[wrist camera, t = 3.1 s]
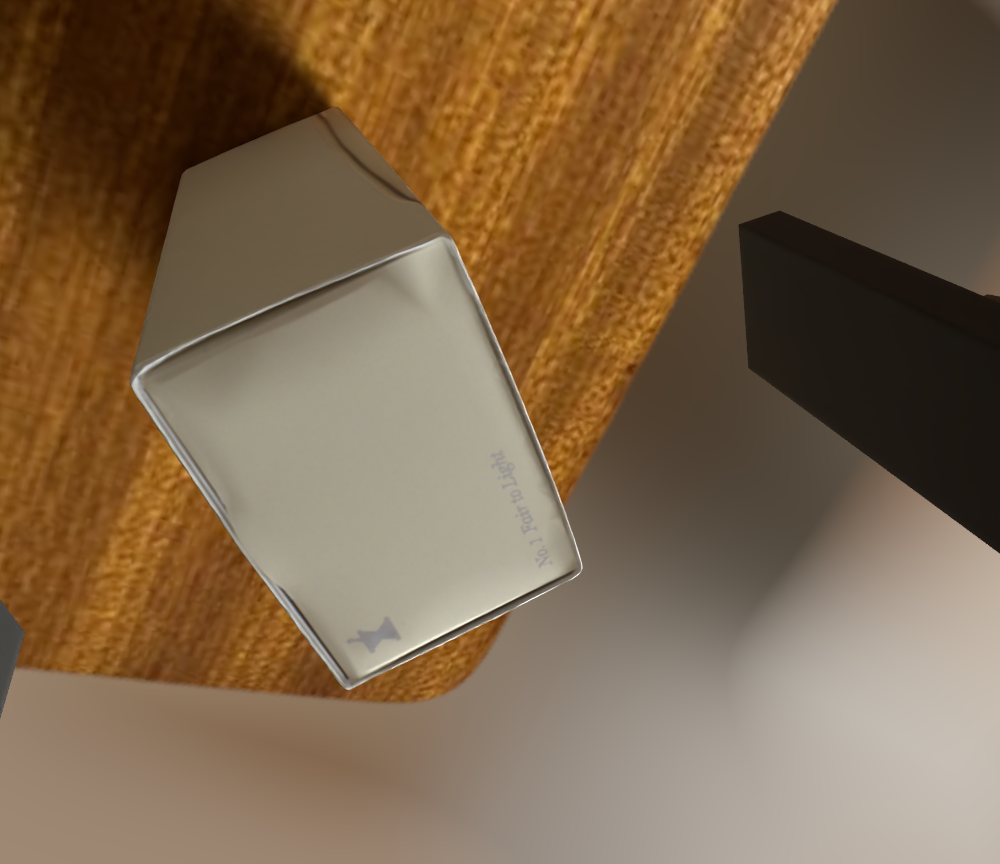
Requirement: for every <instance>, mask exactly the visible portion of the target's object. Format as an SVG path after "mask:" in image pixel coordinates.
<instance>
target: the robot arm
mask: <svg viewBox="0 0 1000 864" xmlns="http://www.w3.org/2000/svg"><path fill="white" fill-rule="evenodd" d="M739 237H740V252H741V265H742V266H741V267H742V280H743V295H744V310H745V324H746V339H747V352H748V367H749V369H751V370H752V371H753V372H755V373H756V374H757V375H759V376H760V377H761V378H763V379H764V380H766V381H767V382H768V383H770V384H771V385H772V386H774V387H775V388H777V389H778V390H779V391H780V392H782V393H783V394H785V395H786V396H787V397H789V398H790V399H791V400H793V401H794V402H796V403H797V404H798V405H799V406H801V407H802V408H803V409H805V410H806V411H808V412H809V413H810V414H812V415H813V416H814V417H816V418H817V419H818V420H820V421H821V422H822V423H824V424H825V425H826V426H828V427H829V428H831V429H832V430H833V431H835V432H836V433H837V434H839V435H840V436H841V437H843V438H844V439H845V440H847V441H848V442H850V443H851V444H852V445H854V446H855V447H856V448H858V449H859V450H860V451H862V452H863V453H865V454H866V455H867V456H869V457H870V458H871V459H873V460H874V461H876V462H877V463H878V464H879V465H881V466H882V467H883V468H885V469H887V471H889V472H890V473H891V474H893V475H894V476H896V477H897V478H898V479H900V480H901V481H902V482H904V483H905V484H907V485H908V486H909V487H910V488H912V489H913V490H915V491H916V492H917V493H919V494H920V495H921V496H923V497H924V498H925V499H927V500H928V501H930V502H931V503H932V504H934V505H935V506H936V507H938V508H939V509H940V510H942V511H943V512H944V513H946V514H947V515H948V516H950V517H951V518H952V519H954V520H955V521H957V522H958V523H959V524H961V525H962V526H963V527H965V528H966V529H967V530H969V531H970V532H972V533H973V534H974V535H976V536H977V537H978V538H980V539H981V540H982V541H984V542H985V543H986V544H988V545H989V546H990V547H992V548H993V549H994V550H996V551H997V552H999V553H1000V297H999V296H994V295H985V296H982V295H979V294H977V293H975V292H972V291H970V290H967V289H965V288H963V287H960V286H958V285H956V284H953V283H951V282H948V281H946V280H944V279H941V278H939V277H937V276H934V275H932V274H929V273H927V272H925V271H922V270H919V269H917V268H915V267H913V266H910V265H908V264H906V263H903V262H901V261H898V260H896V259H894V258H891V257H889V256H886V255H884V254H882V253H879V252H877V251H874V250H872V249H870V248H867V247H865V246H862V245H860V244H858V243H855V242H853V241H851V240H848V239H846V238H844V237H841V236H838V235H836V234H834V233H832V232H829V231H827V230H824V229H822V228H819V227H817V226H815V225H812V224H810V223H808V222H805V221H803V220H801V219H798V218H796V217H793V216H791V215H789V214H786V213H784V212H782V211H777V212H775V213H771V214H769V215H765V216H762V217H760V218H757V219H754V220H751V221H748V222H745V223H742V224H739ZM24 634H25V632H24V631H23V629H22V628H21V627H20V625H19V624H18V623H17V621H16V620H15V619H14V617H13V616H12V615H11V613H10V612H9V611H8V609H7V608H6V607H5V605H4V604H3V603H2V601H1V600H0V717H1V714H2V710H3V707H4V703H5V700H6V696H7V693H8V689H9V686H10V682H11V679H12V675H13V672H14V669H15V665H16V662H17V658H18V655H19V651H20V648H21V644H22V641H23V637H24Z"/></svg>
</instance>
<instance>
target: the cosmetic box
mask: <svg viewBox="0 0 1000 864" xmlns="http://www.w3.org/2000/svg"><path fill="white" fill-rule="evenodd" d="M130 385H131V387H132V389H133V391H134V393H135V395H136V396H137V398H138V399H139V401H140V402H141V403H142V405H143V407H144V408H145V410H146V411H147V413H148V414H149V416H150V417H151V419H152V420H153V422H154V423H155V425H156V426H157V428H158V429H159V431H160V432H161V434H162V435H163V437H164V438H165V440H166V441H167V443H168V444H169V446H170V447H171V449H172V451H173V452H174V454H175V455H176V457H177V458H178V460H179V461H180V462H181V464H182V465H183V466H184V468H185V469H186V470H187V472H188V473H189V475H190V476H191V478H192V479H193V481H194V482H195V484H196V485H197V487H198V488H199V490H200V491H201V493H202V494H203V496H204V497H205V499H206V500H207V502H208V503H209V505H210V506H211V508H212V509H213V510H214V512H215V513H216V515H217V516H218V518H219V519H220V521H221V522H222V524H223V525H224V527H225V528H226V530H227V531H228V532H229V534H230V535H231V537H232V538H233V540H234V541H235V543H236V544H237V546H238V547H239V549H240V550H241V551H242V553H243V554H244V555H245V557H246V558H247V559H248V561H249V562H250V563H251V565H252V566H253V567H254V569H255V570H256V571H257V573H258V574H259V575H260V577H261V578H262V579H263V581H264V582H265V583H266V585H267V586H268V588H269V589H270V590H271V592H272V593H273V595H274V596H275V597H276V599H277V600H278V602H279V603H280V604H281V606H282V607H283V608H284V609H285V611H286V612H287V613H288V615H289V616H290V617H291V619H292V620H293V621H294V623H295V624H296V625H297V627H298V628H299V629H300V631H301V632H302V634H303V635H304V636H305V638H306V639H307V640H308V642H309V643H310V644H311V646H312V647H313V648H314V649H315V651H316V652H317V654H318V655H319V657H320V658H321V659H322V660H323V661H324V663H325V664H326V665H327V666H328V668H329V669H330V671H331V672H332V674H333V675H334V676H335V678H336V679H337V681H338V682H339V683H340V685H341V686H342V687H343V688H345V689H348V690H350V689H352V688H354V687H356V686H358V685H360V684H362V683H364V682H366V681H367V680H369V679H371V678H373V677H375V676H377V675H379V674H382V673H384V672H386V671H388V670H390V669H392V668H394V667H396V666H398V665H401V664H403V663H405V662H407V661H409V660H411V659H413V658H414V657H417V656H419V655H422V654H424V653H426V652H428V651H429V650H431V649H433V648H436V647H438V646H440V645H442V644H444V643H446V642H448V641H450V640H452V639H454V638H456V637H458V636H460V635H462V634H464V633H466V632H468V631H470V630H472V629H474V628H476V627H478V626H480V625H482V624H484V623H486V622H488V621H490V620H493V619H495V618H497V617H499V616H501V615H503V614H505V613H507V612H509V611H511V610H513V609H515V608H516V607H518V606H520V605H522V604H524V603H526V602H527V601H529V600H532V599H534V598H536V597H538V596H540V595H542V594H543V593H545V592H547V591H549V590H551V589H553V588H555V587H557V586H559V585H561V584H563V583H565V582H567V581H569V580H571V579H573V578H574V577H576V576H578V575H579V573H580V572H581V571H582V568H583V567H582V562H581V558H580V555H579V552H578V549H577V546H576V542H575V539H574V536H573V533H572V530H571V528H570V525H569V521H568V518H567V515H566V512H565V510H564V507H563V504H562V502H561V499H560V496H559V493H558V491H557V488H556V485H555V482H554V480H553V477H552V475H551V472H550V469H549V467H548V464H547V461H546V459H545V456H544V454H543V451H542V449H541V446H540V444H539V441H538V438H537V436H536V433H535V431H534V429H533V426H532V424H531V421H530V419H529V416H528V414H527V411H526V409H525V406H524V404H523V401H522V399H521V396H520V394H519V392H518V389H517V387H516V384H515V382H514V379H513V377H512V374H511V372H510V370H509V367H508V365H507V363H506V360H505V358H504V356H503V353H502V351H501V348H500V346H499V343H498V341H497V339H496V336H495V334H494V332H493V330H492V327H491V325H490V323H489V320H488V318H487V316H486V313H485V311H484V309H483V306H482V304H481V302H480V299H479V297H478V295H477V292H476V290H475V287H474V285H473V283H472V281H471V279H470V277H469V275H468V273H467V270H466V268H465V266H464V264H463V261H462V259H461V257H460V254H459V252H458V249H457V247H456V245H455V243H454V241H453V239H452V238H451V236H450V234H449V233H448V232H446V231H445V229H444V228H443V227H442V226H441V225H440V223H439V222H438V221H437V220H436V219H435V217H434V216H433V215H432V214H431V213H430V211H428V210H427V209H426V208H425V206H424V205H423V204H422V203H421V202H420V200H419V199H418V198H417V197H416V196H415V194H414V193H413V192H412V191H411V190H410V188H409V187H408V186H407V185H406V184H405V183H404V181H403V180H402V179H401V178H400V177H399V176H398V175H397V174H396V172H395V171H394V170H393V169H392V168H391V167H390V165H389V164H388V163H387V162H386V161H385V159H384V158H383V157H382V156H381V155H380V153H379V152H378V151H377V150H376V149H375V148H374V146H373V145H372V144H371V143H370V142H369V141H368V140H367V138H366V137H365V136H364V135H363V134H362V133H361V131H360V130H359V129H358V128H357V127H356V126H355V125H354V124H353V123H352V121H351V120H350V119H349V118H348V117H347V116H346V115H345V114H344V113H343V112H342V111H341V109H340V108H338V107H333V108H330V109H328V110H325V111H323V112H321V113H318V114H316V115H313V116H311V117H308V118H306V119H303V120H301V121H298V122H296V123H293V124H290V125H288V126H285V127H283V128H281V129H278V130H276V131H274V132H271V133H269V134H266V135H264V136H262V137H259V138H257V139H255V140H252V141H250V142H248V143H245V144H243V145H241V146H238V147H236V148H234V149H231V150H229V151H227V152H224V153H222V154H220V155H218V156H216V157H213V158H211V159H209V160H207V161H204V162H202V163H200V164H198V165H196V166H193V167H191V168H189V169H187V170H186V171H185V172H184V173H183V174H182V176H181V180H180V184H179V187H178V191H177V195H176V199H175V203H174V207H173V211H172V214H171V219H170V223H169V227H168V231H167V235H166V239H165V242H164V245H163V250H162V254H161V259H160V262H159V265H158V269H157V274H156V278H155V282H154V285H153V289H152V294H151V298H150V302H149V306H148V310H147V314H146V318H145V321H144V325H143V329H142V334H141V338H140V342H139V345H138V349H137V353H136V356H135V360H134V364H133V367H132V371H131V377H130Z"/></svg>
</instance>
